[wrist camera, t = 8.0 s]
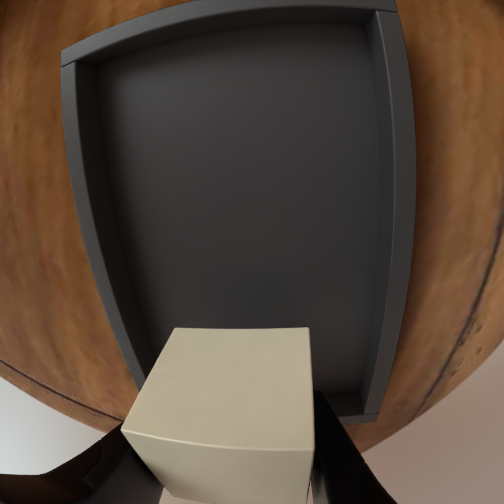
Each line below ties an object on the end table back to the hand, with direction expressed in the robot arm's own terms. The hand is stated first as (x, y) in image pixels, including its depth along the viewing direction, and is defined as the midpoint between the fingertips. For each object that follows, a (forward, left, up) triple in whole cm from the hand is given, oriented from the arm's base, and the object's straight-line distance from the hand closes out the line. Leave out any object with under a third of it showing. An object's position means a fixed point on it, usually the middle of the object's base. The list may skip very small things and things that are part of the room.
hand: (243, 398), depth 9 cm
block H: (0, 0, -1) cm, 1 cm away
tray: (+4, 0, -4) cm, 6 cm away
